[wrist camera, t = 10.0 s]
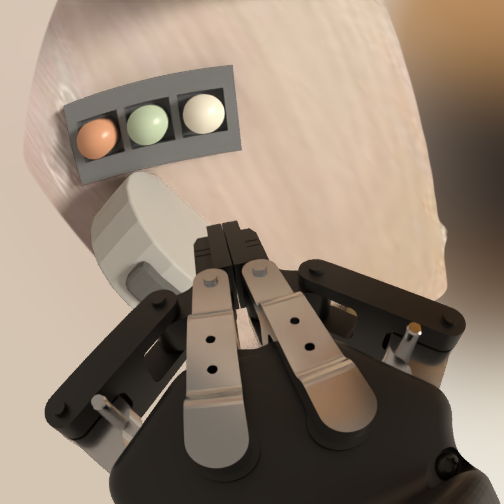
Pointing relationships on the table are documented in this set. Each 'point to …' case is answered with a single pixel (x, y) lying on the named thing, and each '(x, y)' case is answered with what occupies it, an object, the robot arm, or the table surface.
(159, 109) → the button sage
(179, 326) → the robot arm
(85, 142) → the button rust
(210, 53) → the table surface
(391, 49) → the table surface
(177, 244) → the alarm clock
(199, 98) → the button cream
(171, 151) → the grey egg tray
